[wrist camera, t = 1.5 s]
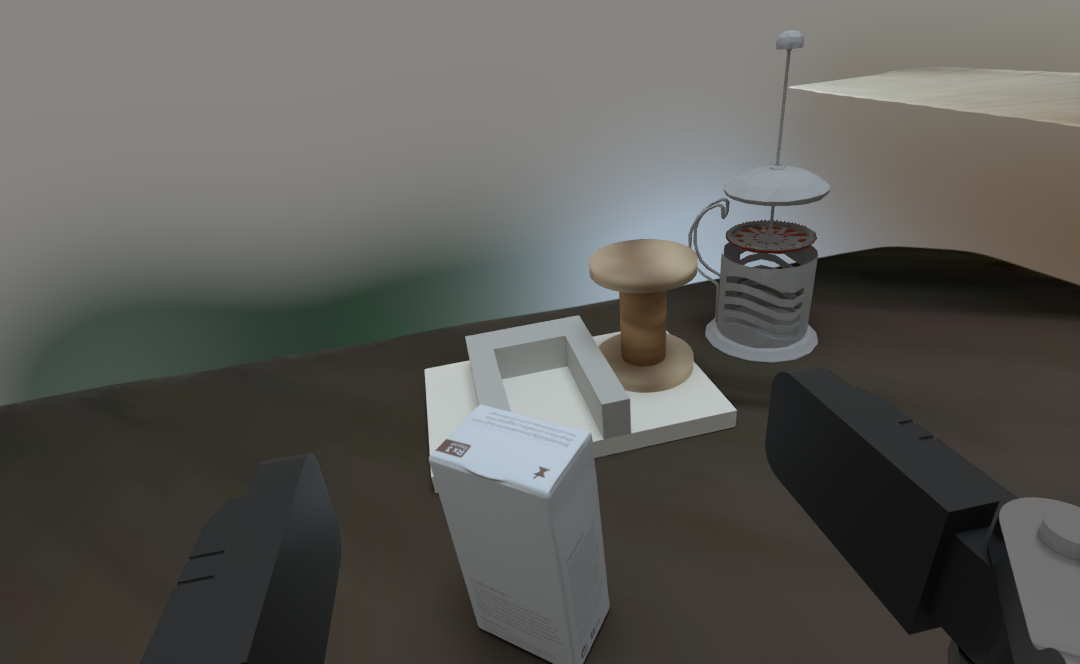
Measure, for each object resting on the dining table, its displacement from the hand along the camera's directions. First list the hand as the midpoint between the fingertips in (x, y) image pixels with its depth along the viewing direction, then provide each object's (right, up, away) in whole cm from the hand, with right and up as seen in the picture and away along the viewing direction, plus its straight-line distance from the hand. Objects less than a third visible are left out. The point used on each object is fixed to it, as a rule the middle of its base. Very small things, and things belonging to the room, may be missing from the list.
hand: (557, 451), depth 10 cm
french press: (+19, +2, +43) cm, 48 cm away
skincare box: (0, -13, +20) cm, 24 cm away
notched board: (+2, -4, +36) cm, 37 cm away
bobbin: (+8, -1, +37) cm, 38 cm away
